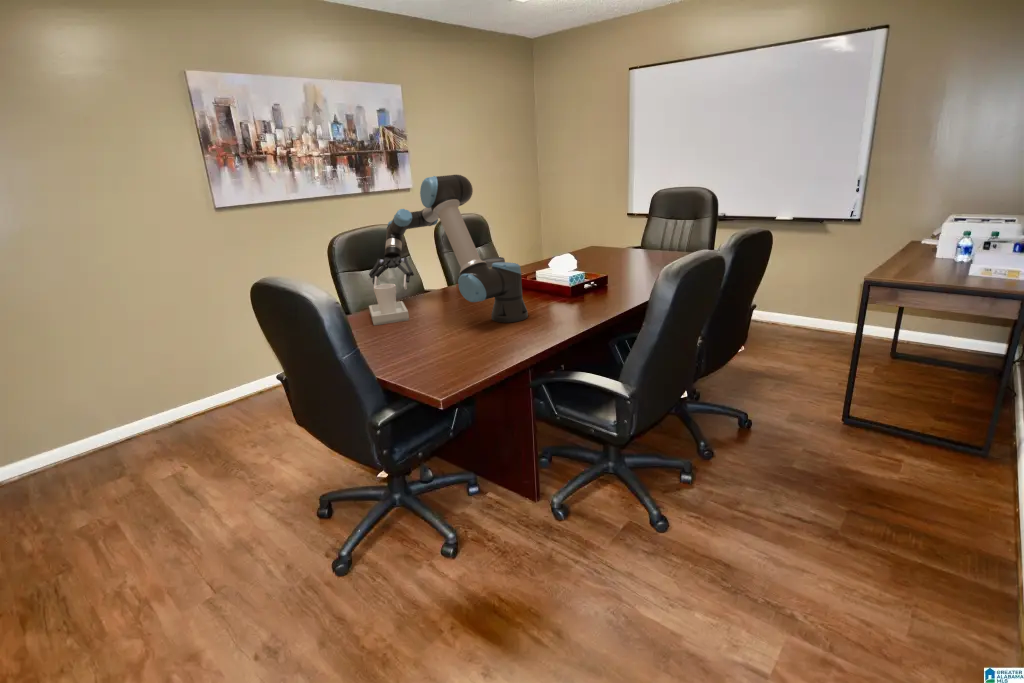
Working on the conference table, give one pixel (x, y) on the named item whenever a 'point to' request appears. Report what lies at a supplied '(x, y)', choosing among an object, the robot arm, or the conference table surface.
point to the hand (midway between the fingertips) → (390, 289)
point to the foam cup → (386, 298)
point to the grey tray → (391, 317)
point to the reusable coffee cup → (493, 260)
